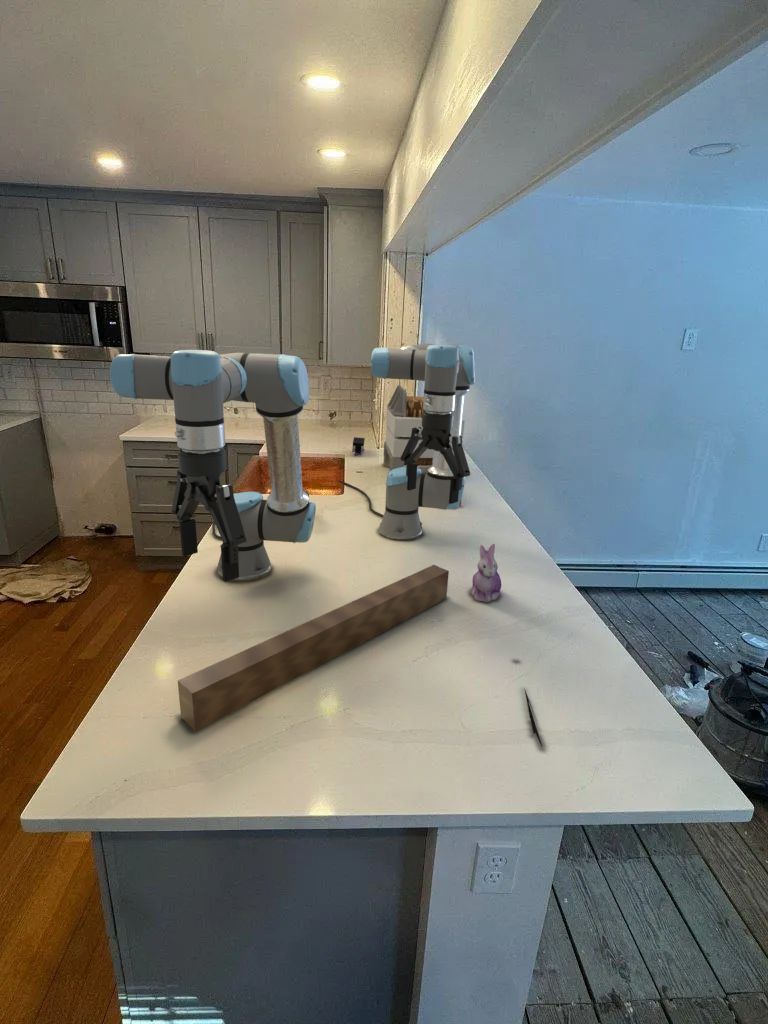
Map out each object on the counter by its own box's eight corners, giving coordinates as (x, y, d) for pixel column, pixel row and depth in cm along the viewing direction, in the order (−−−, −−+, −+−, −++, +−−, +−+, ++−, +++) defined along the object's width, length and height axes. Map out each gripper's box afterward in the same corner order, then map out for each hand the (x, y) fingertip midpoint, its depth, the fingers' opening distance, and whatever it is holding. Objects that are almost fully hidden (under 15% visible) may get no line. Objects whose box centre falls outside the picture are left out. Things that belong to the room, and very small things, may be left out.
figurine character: (364, 459, 300) (364, 449, 314) (364, 445, 297) (365, 436, 311) (351, 458, 300) (352, 449, 314) (351, 445, 297) (352, 435, 310)
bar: (431, 591, 160) (433, 564, 157) (446, 598, 157) (448, 570, 154) (180, 717, 108) (177, 680, 105) (195, 731, 104) (191, 693, 101)
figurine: (483, 606, 153) (489, 555, 148) (461, 589, 161) (466, 541, 156) (510, 599, 157) (517, 550, 152) (488, 583, 166) (493, 536, 161)
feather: (516, 665, 130) (521, 659, 130) (541, 751, 103) (548, 744, 103) (510, 661, 130) (515, 655, 129) (534, 747, 103) (541, 739, 103)
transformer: (382, 463, 289) (386, 382, 275) (445, 464, 293) (451, 384, 279) (390, 482, 257) (394, 392, 243) (460, 483, 261) (468, 394, 247)
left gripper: (144, 437, 98) (155, 550, 105) (223, 468, 82) (230, 598, 90) (184, 432, 103) (193, 539, 111) (265, 460, 88) (269, 583, 95)
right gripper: (389, 405, 141) (385, 486, 149) (471, 421, 126) (463, 511, 133) (409, 403, 147) (404, 481, 154) (490, 418, 131) (481, 505, 138)
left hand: (209, 566), depth 100 cm, fingers open, 13 cm apart
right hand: (431, 495), depth 143 cm, fingers open, 13 cm apart
